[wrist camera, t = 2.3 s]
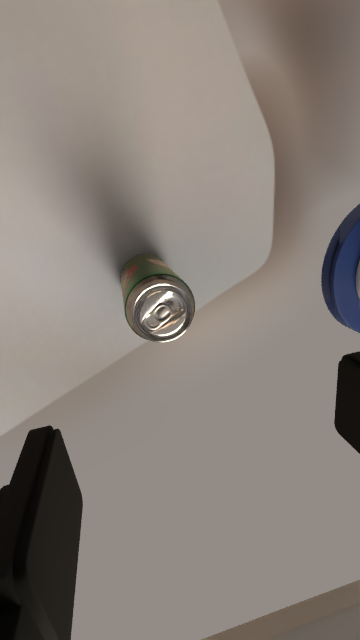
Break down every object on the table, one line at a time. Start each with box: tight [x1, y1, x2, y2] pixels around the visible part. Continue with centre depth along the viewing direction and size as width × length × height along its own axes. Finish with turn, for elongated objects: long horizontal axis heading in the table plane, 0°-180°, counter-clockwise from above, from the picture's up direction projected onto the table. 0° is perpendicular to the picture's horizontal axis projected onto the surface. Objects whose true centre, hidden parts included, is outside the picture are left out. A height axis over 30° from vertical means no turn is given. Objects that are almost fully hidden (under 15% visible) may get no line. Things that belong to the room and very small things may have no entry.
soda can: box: [121, 254, 195, 342], centre depth 26 cm, size 5×5×12 cm
